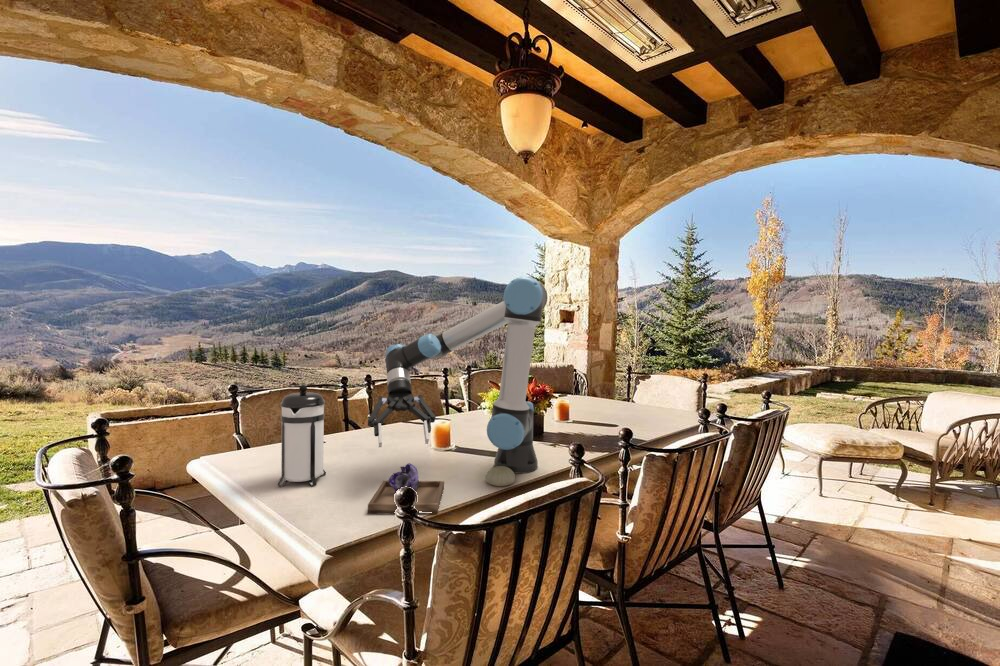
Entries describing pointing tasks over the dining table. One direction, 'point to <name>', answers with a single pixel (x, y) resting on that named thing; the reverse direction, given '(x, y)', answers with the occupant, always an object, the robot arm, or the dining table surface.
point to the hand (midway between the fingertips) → (404, 443)
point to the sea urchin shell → (500, 476)
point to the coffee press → (302, 437)
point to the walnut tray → (427, 502)
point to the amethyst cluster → (405, 478)
